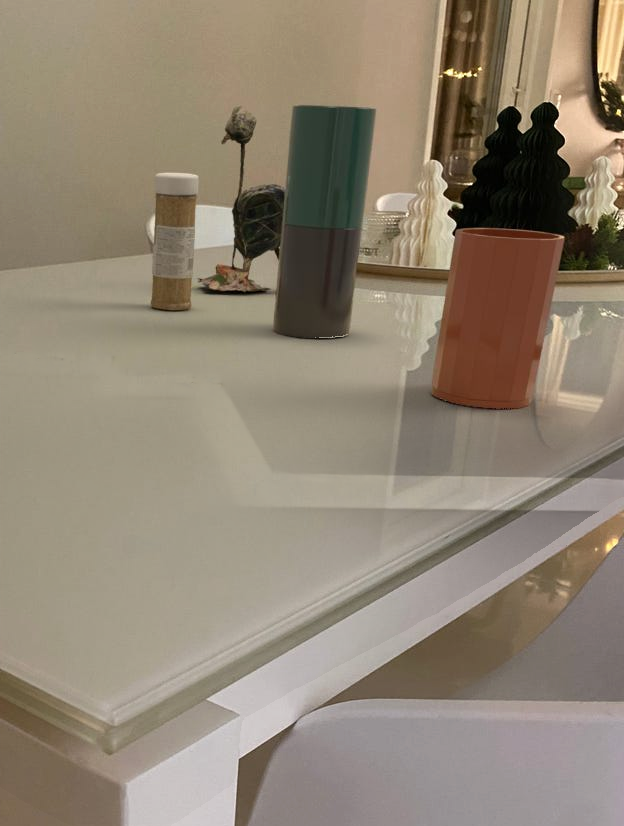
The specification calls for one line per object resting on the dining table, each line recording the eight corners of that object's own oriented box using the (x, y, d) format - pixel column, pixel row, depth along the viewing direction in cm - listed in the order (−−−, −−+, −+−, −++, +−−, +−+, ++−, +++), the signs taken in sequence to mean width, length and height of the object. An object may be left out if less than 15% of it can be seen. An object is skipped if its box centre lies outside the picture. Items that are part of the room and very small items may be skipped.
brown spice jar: (162, 303, 117) (168, 171, 111) (199, 307, 115) (206, 174, 109) (142, 308, 113) (147, 172, 107) (179, 313, 111) (186, 175, 105)
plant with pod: (292, 297, 124) (310, 108, 114) (197, 293, 123) (208, 104, 114) (284, 287, 131) (301, 108, 122) (194, 283, 131) (204, 104, 122)
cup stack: (339, 325, 108) (364, 108, 99) (357, 339, 101) (386, 108, 92) (266, 323, 107) (285, 105, 98) (280, 338, 101) (301, 104, 91)
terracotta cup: (508, 386, 85) (539, 229, 80) (546, 410, 79) (582, 240, 73) (418, 384, 85) (442, 226, 79) (448, 408, 78) (477, 237, 73)
